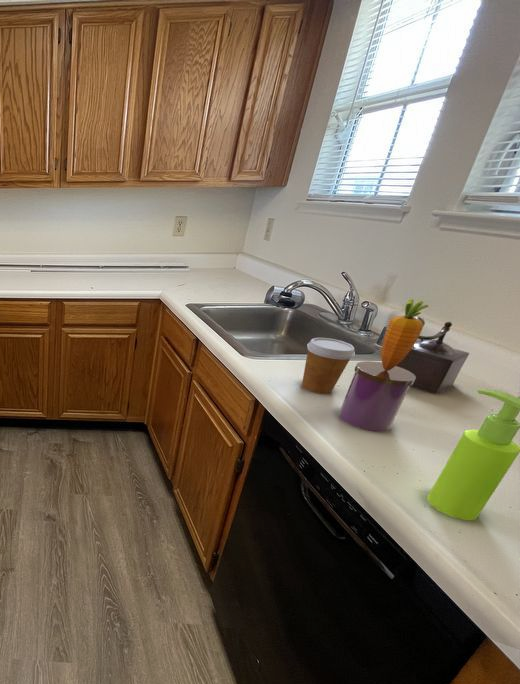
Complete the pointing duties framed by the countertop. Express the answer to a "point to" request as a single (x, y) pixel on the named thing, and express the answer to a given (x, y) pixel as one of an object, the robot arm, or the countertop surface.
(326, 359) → the disposable coffee cup
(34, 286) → the countertop surface
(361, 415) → the jar
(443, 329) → the brown manual coffee grinder
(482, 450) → the soap dispenser
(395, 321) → the carrot
